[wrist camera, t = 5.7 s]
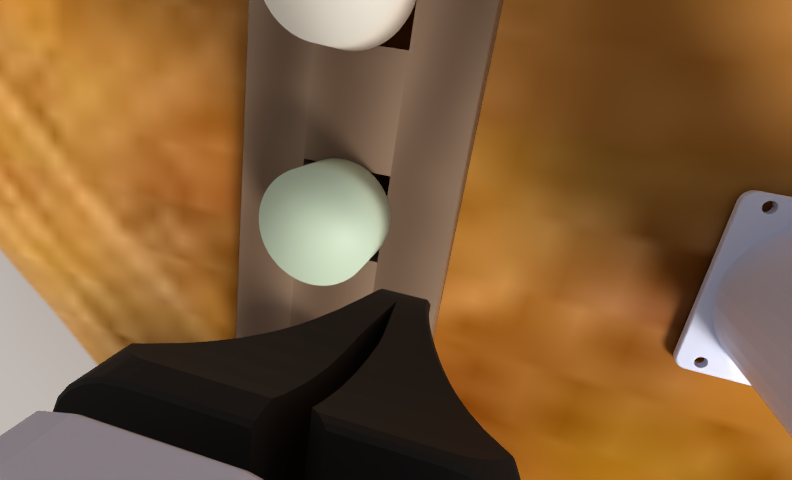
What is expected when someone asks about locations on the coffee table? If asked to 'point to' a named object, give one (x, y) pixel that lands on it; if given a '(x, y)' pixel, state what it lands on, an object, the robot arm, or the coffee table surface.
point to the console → (363, 148)
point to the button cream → (342, 20)
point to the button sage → (324, 220)
